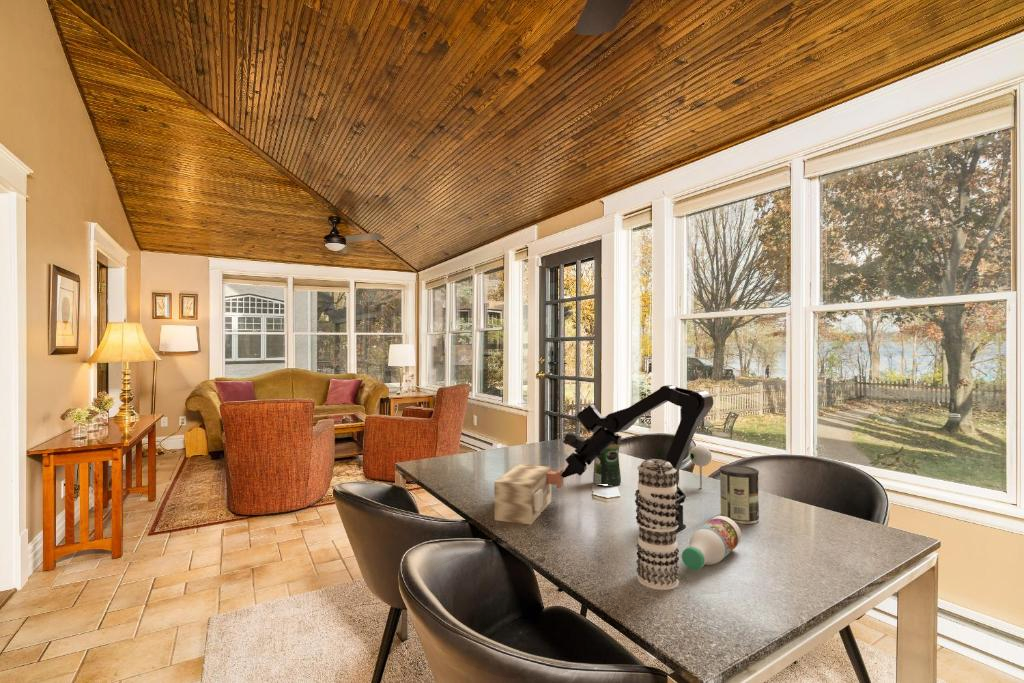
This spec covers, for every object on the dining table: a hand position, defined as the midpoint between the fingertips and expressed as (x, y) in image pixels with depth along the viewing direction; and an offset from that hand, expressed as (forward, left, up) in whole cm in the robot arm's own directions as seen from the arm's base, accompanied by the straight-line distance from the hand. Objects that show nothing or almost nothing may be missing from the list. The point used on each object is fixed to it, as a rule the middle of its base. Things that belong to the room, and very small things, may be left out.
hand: (562, 476), depth 149 cm
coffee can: (-43, -27, -9) cm, 52 cm away
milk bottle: (-48, -4, -5) cm, 49 cm away
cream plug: (+2, +17, -6) cm, 18 cm away
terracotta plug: (+6, +3, -3) cm, 7 cm away
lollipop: (-23, -48, -9) cm, 54 cm away
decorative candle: (-44, +24, -9) cm, 51 cm away
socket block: (+6, +11, -9) cm, 16 cm away
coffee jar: (+4, -30, -9) cm, 32 cm away
